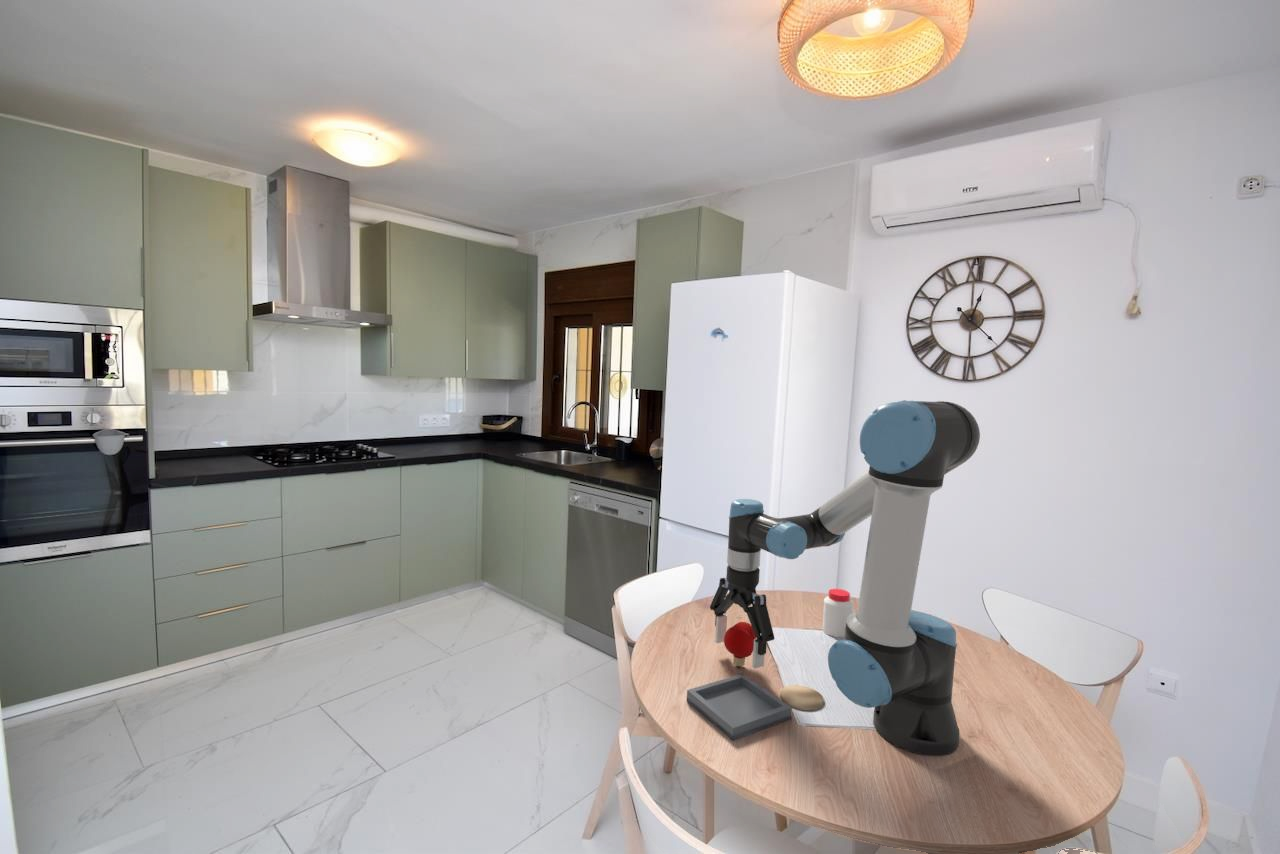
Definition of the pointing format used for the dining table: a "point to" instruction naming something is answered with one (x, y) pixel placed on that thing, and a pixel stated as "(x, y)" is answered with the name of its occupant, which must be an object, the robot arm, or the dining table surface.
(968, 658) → the dining table surface
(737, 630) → the red rounded piece
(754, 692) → the socket dish
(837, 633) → the pill bottle
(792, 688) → the cork coaster
